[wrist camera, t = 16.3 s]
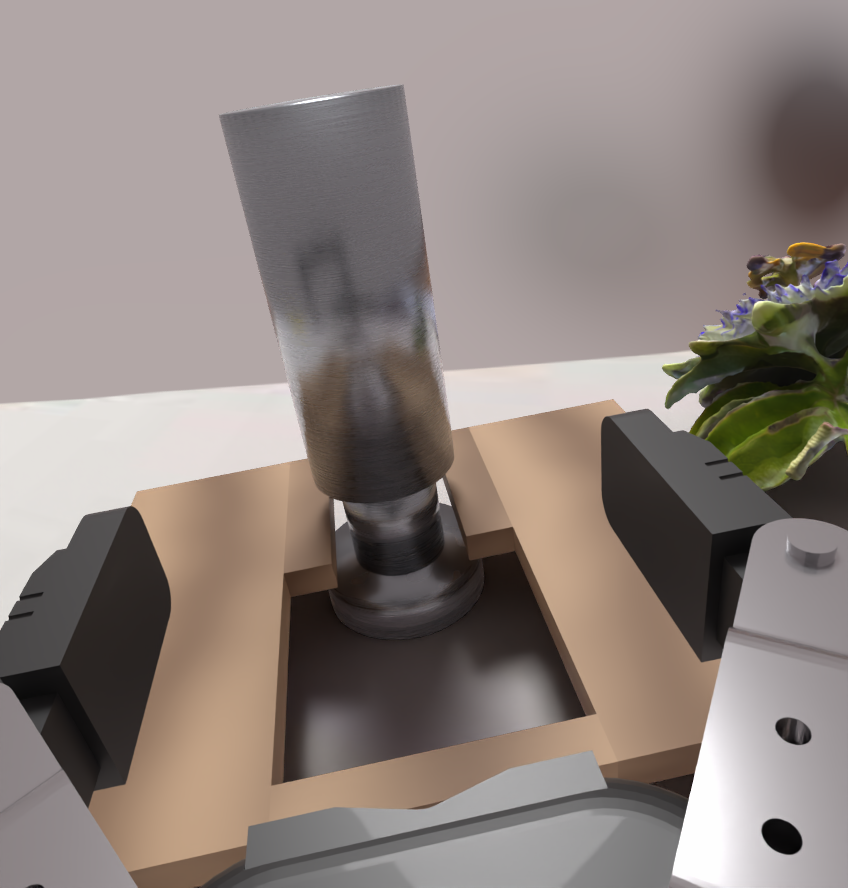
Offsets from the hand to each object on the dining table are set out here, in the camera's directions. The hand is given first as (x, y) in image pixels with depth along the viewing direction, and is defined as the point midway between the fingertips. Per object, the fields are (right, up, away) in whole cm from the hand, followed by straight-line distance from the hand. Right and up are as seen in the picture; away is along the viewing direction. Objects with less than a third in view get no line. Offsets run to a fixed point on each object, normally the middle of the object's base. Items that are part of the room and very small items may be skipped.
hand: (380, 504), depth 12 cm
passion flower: (+17, 0, +18) cm, 25 cm away
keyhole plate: (+1, -6, +11) cm, 13 cm away
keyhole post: (0, -4, +15) cm, 15 cm away
